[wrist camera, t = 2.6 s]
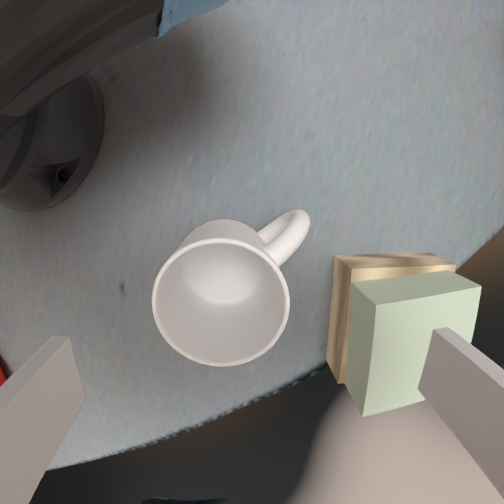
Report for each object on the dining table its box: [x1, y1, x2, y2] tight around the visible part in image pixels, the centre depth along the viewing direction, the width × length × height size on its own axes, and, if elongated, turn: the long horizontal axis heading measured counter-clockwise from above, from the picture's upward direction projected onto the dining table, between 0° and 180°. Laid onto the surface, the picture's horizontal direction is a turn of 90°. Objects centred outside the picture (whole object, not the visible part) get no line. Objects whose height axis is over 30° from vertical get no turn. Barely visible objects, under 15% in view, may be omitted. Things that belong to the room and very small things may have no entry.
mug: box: [151, 209, 310, 367], centre depth 23 cm, size 12×8×10 cm
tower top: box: [345, 270, 481, 417], centre depth 23 cm, size 10×10×5 cm
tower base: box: [325, 253, 456, 383], centre depth 28 cm, size 11×11×5 cm
